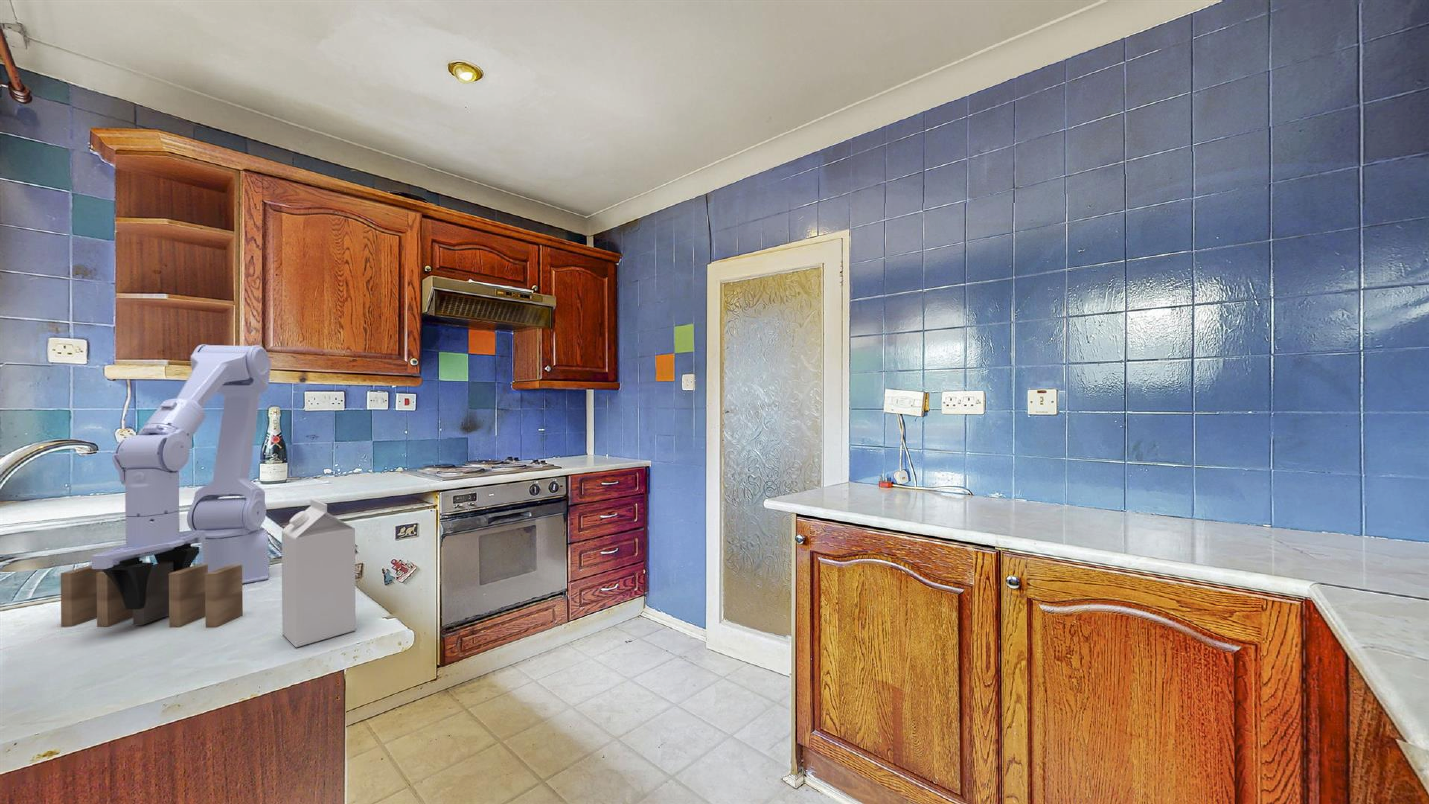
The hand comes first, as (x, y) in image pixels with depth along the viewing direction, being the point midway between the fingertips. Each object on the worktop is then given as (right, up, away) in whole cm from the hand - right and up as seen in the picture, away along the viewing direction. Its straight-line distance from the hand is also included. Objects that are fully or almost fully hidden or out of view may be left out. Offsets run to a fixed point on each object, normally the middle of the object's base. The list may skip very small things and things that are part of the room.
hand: (153, 601), depth 83 cm
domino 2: (-6, -3, 0) cm, 6 cm away
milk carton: (+29, -3, -5) cm, 29 cm away
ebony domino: (0, -3, 0) cm, 3 cm away
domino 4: (+11, -3, 0) cm, 11 cm away
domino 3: (+5, -3, 0) cm, 6 cm away
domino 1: (-11, -3, 0) cm, 11 cm away
